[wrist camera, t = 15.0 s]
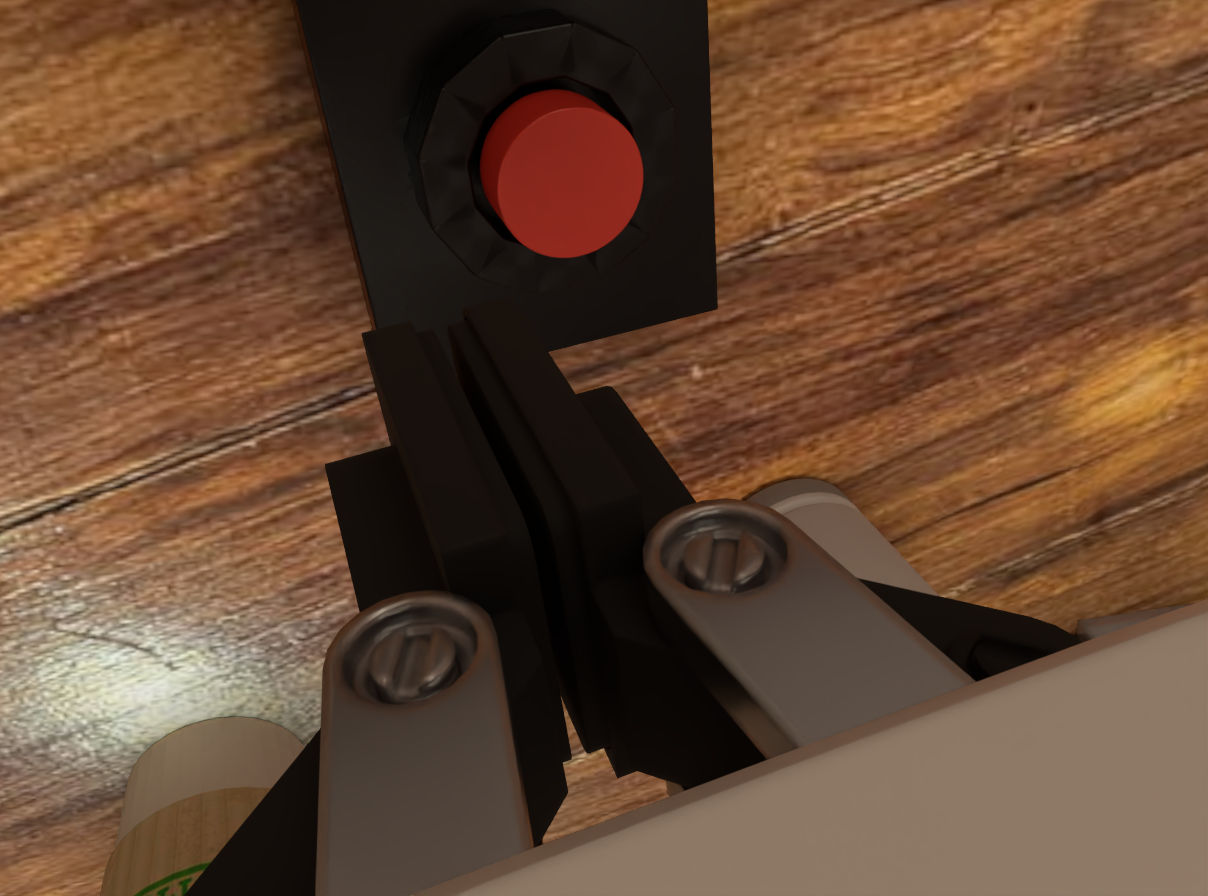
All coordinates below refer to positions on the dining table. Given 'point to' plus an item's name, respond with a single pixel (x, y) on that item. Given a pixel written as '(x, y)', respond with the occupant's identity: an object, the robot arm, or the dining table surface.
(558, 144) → the button
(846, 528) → the travel mug
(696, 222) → the switch block
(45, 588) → the dining table surface
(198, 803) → the coffee cup
